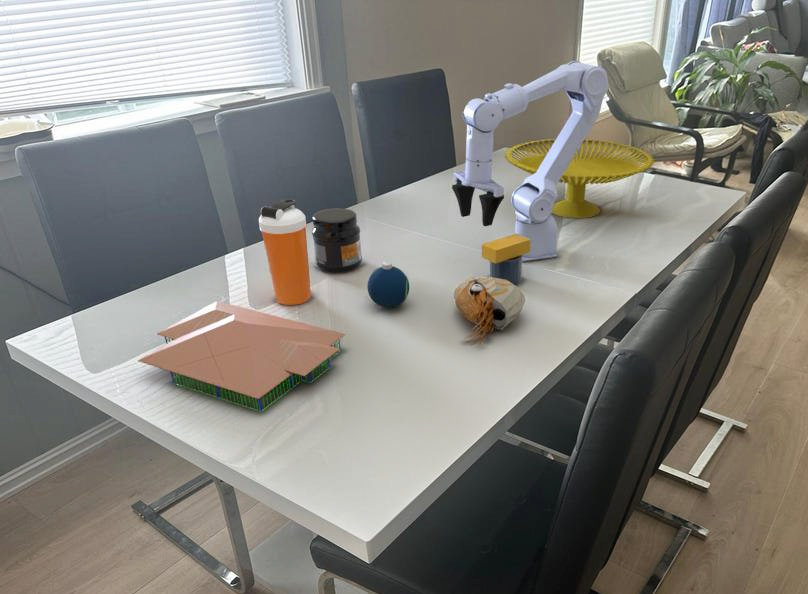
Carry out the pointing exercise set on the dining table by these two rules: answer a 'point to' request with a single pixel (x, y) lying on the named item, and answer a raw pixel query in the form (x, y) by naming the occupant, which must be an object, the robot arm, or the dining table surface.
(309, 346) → the house
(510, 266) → the espresso cup
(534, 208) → the robot arm
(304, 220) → the shaker bottle
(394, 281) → the christmas ornament
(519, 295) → the nautilus
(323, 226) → the supplement container
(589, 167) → the cake stand
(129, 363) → the dining table surface
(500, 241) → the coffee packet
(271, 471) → the dining table surface
